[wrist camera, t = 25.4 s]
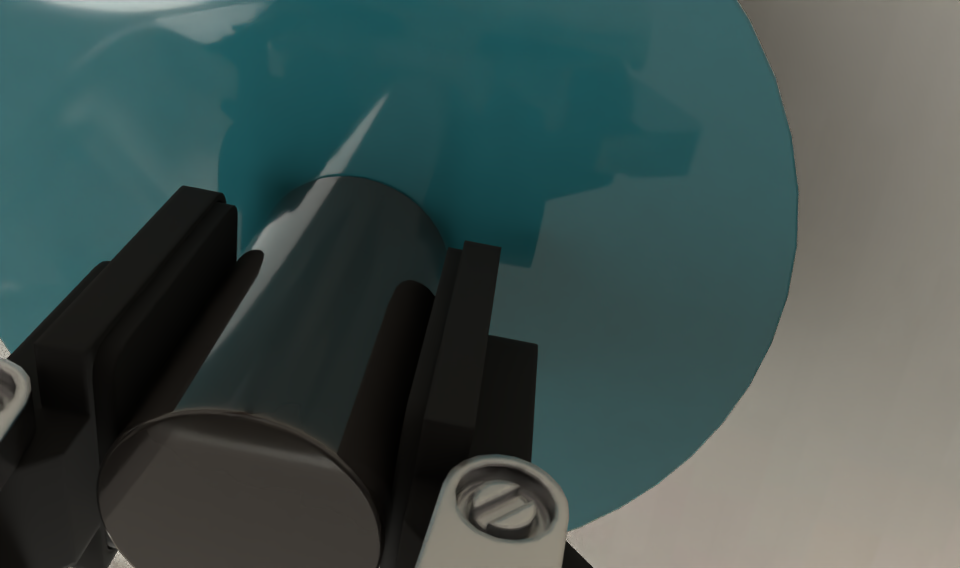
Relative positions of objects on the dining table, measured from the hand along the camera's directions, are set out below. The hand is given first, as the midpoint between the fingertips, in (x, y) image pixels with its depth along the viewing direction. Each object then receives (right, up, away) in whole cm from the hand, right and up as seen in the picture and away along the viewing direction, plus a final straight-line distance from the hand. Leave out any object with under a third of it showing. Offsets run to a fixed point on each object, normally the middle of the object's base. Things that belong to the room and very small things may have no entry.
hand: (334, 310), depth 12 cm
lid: (0, +1, +2) cm, 2 cm away
